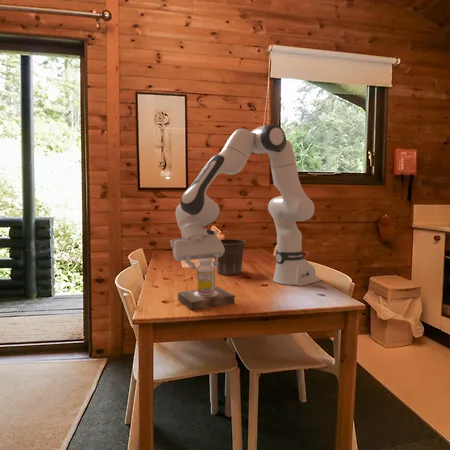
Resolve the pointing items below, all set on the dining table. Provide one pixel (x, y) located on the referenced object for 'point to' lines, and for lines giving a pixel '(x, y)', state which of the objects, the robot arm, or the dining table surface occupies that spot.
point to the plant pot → (231, 257)
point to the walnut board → (205, 299)
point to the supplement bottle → (205, 277)
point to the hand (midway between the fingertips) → (205, 266)
